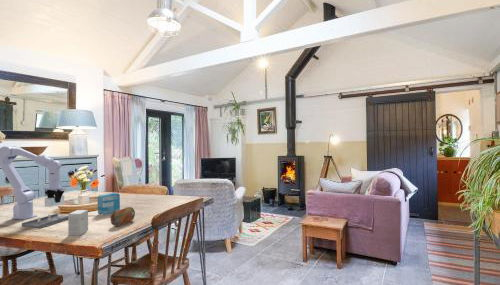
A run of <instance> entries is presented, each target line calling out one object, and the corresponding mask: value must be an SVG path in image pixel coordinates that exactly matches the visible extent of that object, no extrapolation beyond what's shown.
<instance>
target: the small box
mask: <svg viewBox="0 0 500 285" xmlns="http://www.w3.org/2000/svg"><path fill="white" fill-rule="evenodd" d="M67 216H68V220H67V222H68V223H67V224H68V230H67V231H68V236H69V237H71V236H81V235H83V234H84V233H86V232H87V231H89V210H88V209H77V210H75V211H71V212H70V213H68V214H67Z"/></svg>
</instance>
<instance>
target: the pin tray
mask: <svg viewBox="0 0 500 285" xmlns="http://www.w3.org/2000/svg"><path fill="white" fill-rule="evenodd" d="M65 221H68V215H65V214H64V215H63V214H62V215H61V214H60V213H54V214H48V215H45V216H43V217H37V218H36V219H31V220H28V221H24V222H22V223H21V227H24V228H25V227H26V228H36V229H42V228H45V227H46V228H47V227H49V226H53V225H56V224H58V223H61V222H65Z"/></svg>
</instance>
